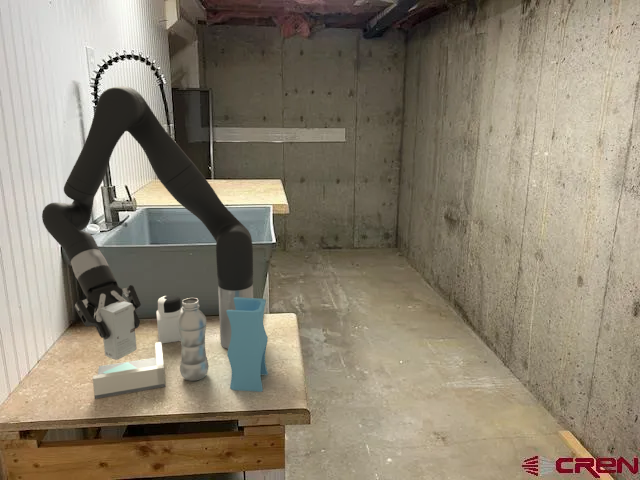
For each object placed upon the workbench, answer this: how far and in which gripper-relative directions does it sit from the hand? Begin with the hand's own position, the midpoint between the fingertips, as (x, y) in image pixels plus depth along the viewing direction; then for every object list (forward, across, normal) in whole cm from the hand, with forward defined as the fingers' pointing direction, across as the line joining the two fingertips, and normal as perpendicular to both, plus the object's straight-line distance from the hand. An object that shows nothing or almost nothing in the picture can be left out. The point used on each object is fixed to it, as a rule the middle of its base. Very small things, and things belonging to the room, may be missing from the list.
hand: (122, 332), depth 111 cm
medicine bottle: (+2, +19, +16) cm, 25 cm away
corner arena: (+9, +1, +8) cm, 12 cm away
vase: (+25, +19, -7) cm, 32 cm away
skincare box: (+3, 0, +6) cm, 6 cm away
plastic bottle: (+17, +11, +1) cm, 20 cm away
